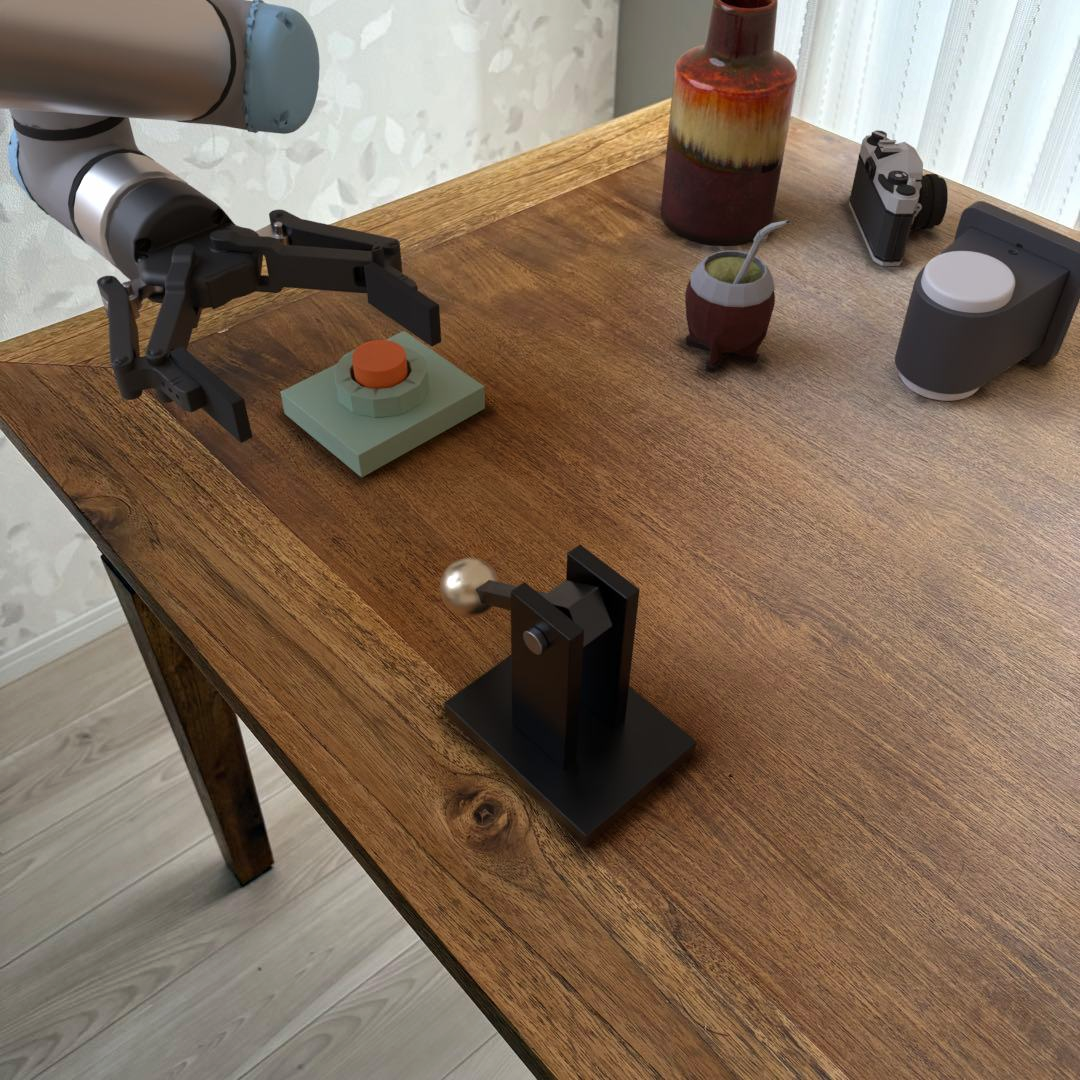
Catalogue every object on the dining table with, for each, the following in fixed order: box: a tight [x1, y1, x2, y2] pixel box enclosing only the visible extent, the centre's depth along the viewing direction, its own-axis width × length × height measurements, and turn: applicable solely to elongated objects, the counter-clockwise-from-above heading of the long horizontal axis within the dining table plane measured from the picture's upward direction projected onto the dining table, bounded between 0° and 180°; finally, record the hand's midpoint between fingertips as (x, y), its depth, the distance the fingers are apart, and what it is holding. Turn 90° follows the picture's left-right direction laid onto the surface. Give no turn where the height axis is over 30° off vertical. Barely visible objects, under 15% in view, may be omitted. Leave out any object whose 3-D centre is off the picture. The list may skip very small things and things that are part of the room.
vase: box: [660, 0, 798, 246], centre depth 101 cm, size 11×11×20 cm
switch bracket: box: [443, 544, 698, 849], centre depth 61 cm, size 12×9×13 cm
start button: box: [352, 339, 407, 389], centre depth 83 cm, size 4×4×2 cm
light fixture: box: [894, 200, 1080, 402], centre depth 88 cm, size 11×13×11 cm
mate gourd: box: [684, 219, 792, 373], centre depth 87 cm, size 8×8×15 cm
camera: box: [848, 129, 949, 267], centre depth 104 cm, size 13×8×9 cm, turn 4°
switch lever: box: [439, 556, 613, 647], centre depth 62 cm, size 13×4×4 cm, turn 43°
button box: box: [280, 330, 486, 478], centre depth 85 cm, size 12×10×4 cm
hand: (344, 371), depth 64 cm, fingers open, 13 cm apart
